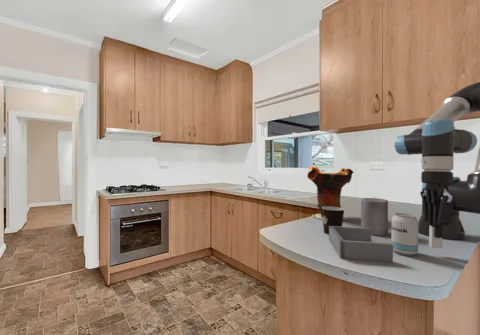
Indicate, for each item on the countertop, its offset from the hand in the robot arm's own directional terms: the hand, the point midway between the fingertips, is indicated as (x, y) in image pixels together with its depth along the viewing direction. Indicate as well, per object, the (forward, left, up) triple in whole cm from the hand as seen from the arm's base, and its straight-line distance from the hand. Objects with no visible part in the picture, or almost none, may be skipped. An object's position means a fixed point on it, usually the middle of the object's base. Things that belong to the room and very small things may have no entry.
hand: (435, 247), depth 73 cm
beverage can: (+9, 0, -3) cm, 9 cm away
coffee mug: (+27, -20, -3) cm, 33 cm away
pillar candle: (+10, -23, -3) cm, 25 cm away
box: (+23, 0, -3) cm, 23 cm away
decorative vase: (+23, -50, -3) cm, 55 cm away
